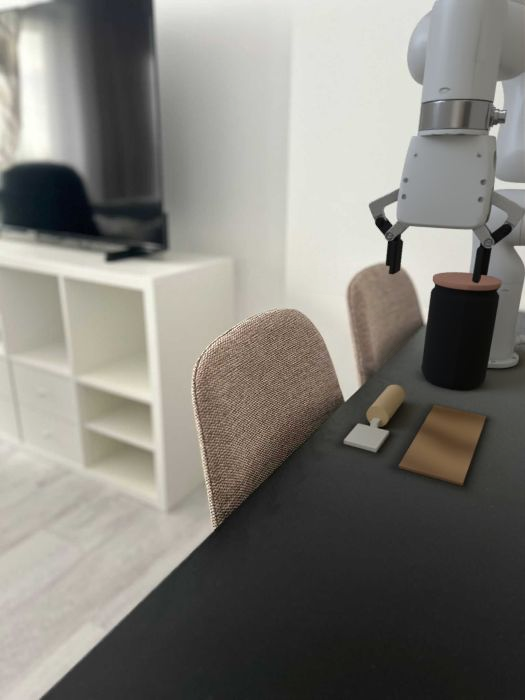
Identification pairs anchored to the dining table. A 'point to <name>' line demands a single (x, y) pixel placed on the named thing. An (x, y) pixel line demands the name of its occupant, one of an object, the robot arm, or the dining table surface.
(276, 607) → the dining table surface
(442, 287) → the coffee jar
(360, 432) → the spatula
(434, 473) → the wooden board
